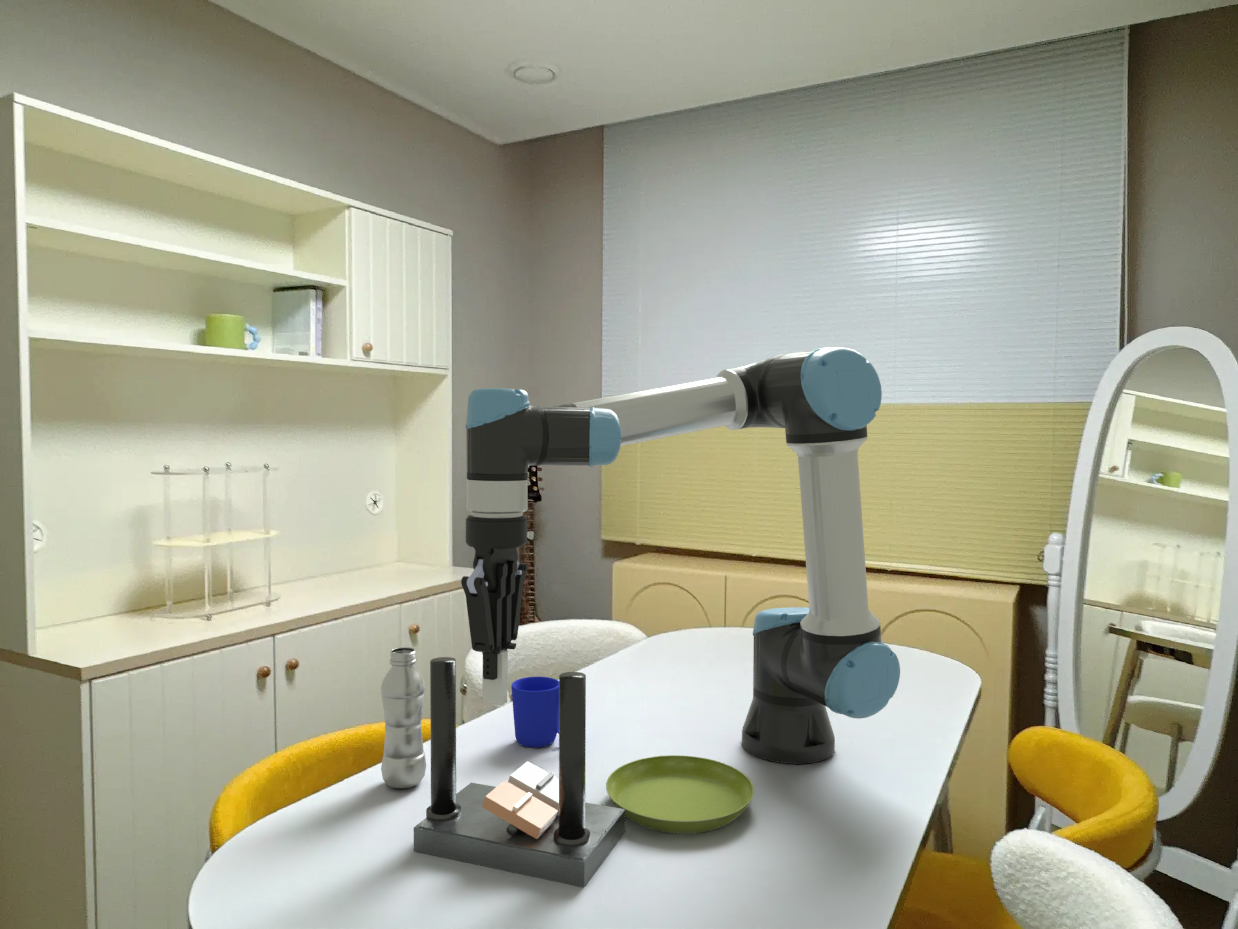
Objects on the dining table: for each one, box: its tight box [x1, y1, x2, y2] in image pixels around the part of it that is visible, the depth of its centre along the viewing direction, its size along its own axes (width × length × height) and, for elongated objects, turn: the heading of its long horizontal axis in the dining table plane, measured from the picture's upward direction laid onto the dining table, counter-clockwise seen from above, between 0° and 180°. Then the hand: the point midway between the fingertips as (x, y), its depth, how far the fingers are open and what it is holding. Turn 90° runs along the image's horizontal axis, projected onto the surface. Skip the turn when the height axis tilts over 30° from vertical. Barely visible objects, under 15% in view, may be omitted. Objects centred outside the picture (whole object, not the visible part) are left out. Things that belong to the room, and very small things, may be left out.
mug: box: [510, 676, 559, 749], centre depth 138 cm, size 8×12×10 cm
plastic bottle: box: [380, 646, 427, 789], centre depth 122 cm, size 6×7×20 cm
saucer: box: [605, 754, 755, 835], centre depth 116 cm, size 21×21×3 cm
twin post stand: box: [413, 656, 626, 888], centre depth 105 cm, size 24×14×23 cm, turn 70°
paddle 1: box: [507, 760, 559, 815], centre depth 109 cm, size 8×5×2 cm, turn 70°
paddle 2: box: [482, 779, 558, 839], centre depth 103 cm, size 8×5×2 cm, turn 70°
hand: (494, 702), depth 103 cm, fingers closed
